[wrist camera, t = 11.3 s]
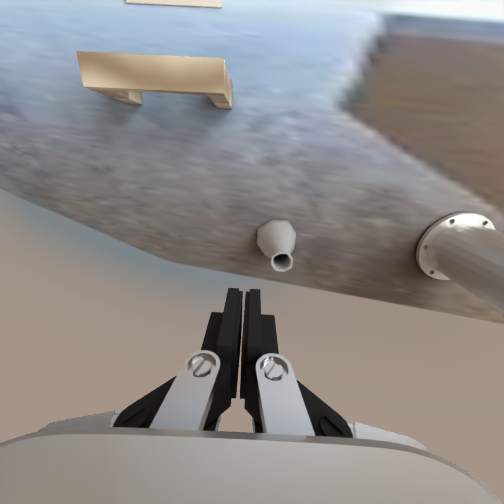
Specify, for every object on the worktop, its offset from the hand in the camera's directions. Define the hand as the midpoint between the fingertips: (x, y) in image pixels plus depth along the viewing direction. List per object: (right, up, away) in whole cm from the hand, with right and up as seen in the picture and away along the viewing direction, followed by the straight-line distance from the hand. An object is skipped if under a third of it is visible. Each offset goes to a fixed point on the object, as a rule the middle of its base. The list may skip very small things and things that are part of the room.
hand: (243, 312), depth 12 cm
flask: (+5, +6, +29) cm, 30 cm away
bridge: (-10, +26, +21) cm, 35 cm away
